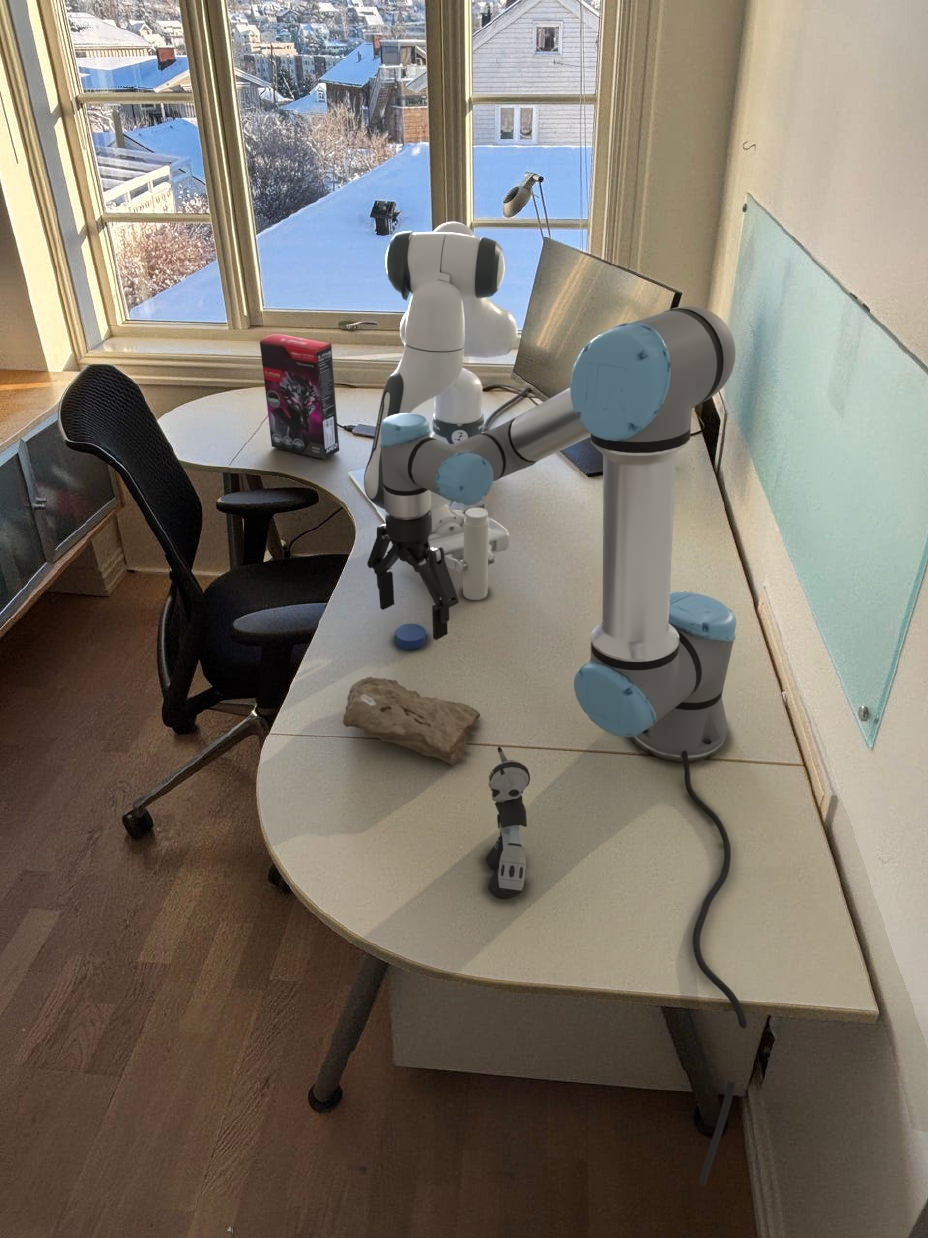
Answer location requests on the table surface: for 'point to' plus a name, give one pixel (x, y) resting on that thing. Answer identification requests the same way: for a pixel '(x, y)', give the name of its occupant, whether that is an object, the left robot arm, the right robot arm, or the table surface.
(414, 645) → the lid
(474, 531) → the white bottle
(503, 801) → the robot
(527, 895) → the table surface
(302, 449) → the graphics card box
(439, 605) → the right robot arm
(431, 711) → the stone
